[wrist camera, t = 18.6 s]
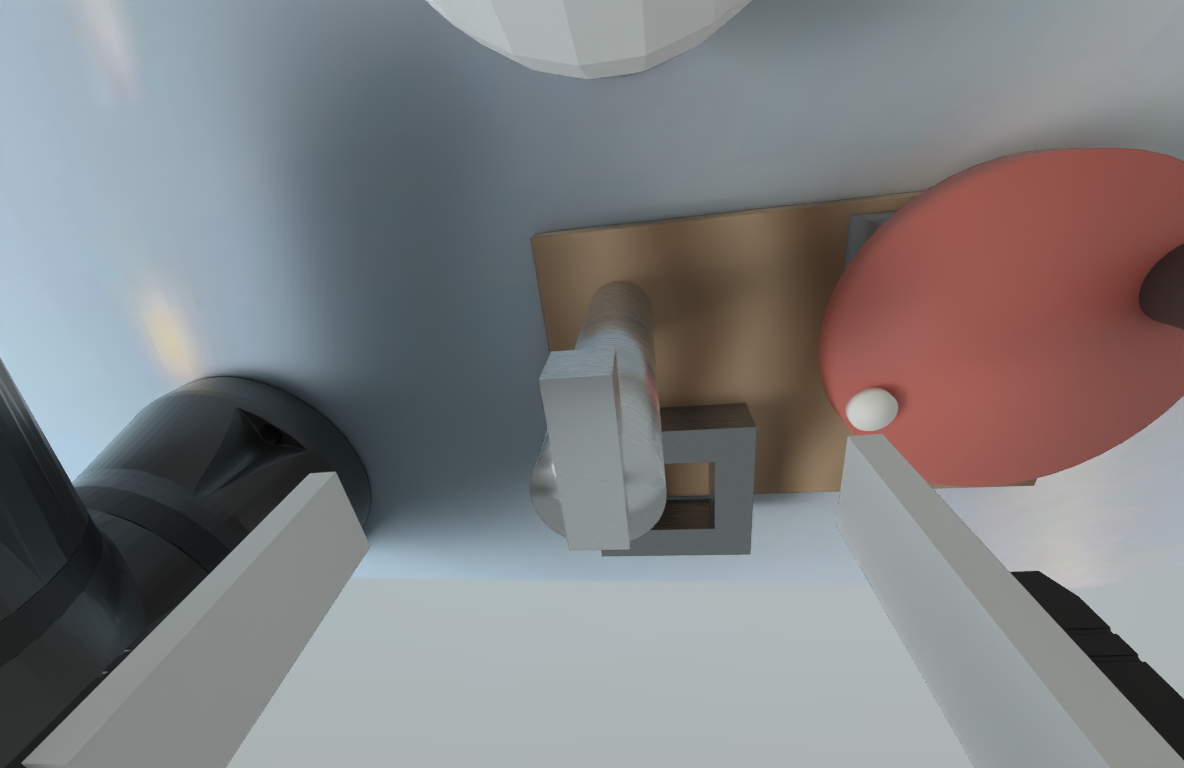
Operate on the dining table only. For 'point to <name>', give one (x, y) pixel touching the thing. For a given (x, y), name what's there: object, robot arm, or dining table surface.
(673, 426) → the eye
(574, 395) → the hook peg
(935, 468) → the handwheel
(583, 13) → the cup
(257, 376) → the dining table surface
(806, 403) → the board
